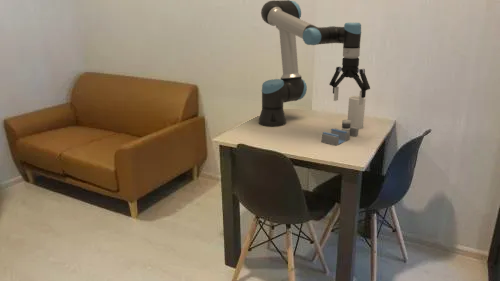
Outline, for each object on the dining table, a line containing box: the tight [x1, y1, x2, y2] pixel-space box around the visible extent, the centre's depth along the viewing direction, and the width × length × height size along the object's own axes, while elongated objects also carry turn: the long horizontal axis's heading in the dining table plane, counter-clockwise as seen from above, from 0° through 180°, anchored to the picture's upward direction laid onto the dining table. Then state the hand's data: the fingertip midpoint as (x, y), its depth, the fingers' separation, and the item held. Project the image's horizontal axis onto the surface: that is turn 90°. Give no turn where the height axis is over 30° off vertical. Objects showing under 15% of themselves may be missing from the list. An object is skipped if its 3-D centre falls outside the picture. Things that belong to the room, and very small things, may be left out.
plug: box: [341, 119, 351, 131], centre depth 196 cm, size 4×4×8 cm
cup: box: [347, 95, 366, 130], centre depth 210 cm, size 8×8×16 cm
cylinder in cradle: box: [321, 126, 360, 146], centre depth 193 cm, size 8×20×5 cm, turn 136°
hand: (348, 102), depth 192 cm, fingers open, 13 cm apart
